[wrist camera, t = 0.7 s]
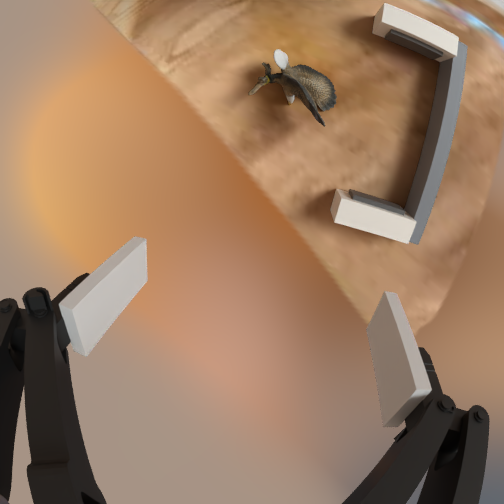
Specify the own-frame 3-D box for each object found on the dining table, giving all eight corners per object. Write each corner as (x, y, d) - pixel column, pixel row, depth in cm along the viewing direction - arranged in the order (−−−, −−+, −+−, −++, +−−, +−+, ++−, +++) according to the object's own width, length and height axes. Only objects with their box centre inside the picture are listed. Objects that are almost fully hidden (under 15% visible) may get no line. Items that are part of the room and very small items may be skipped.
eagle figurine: (251, 114, 32) (320, 141, 31) (244, 75, 25) (329, 103, 24) (277, 75, 33) (341, 98, 32) (275, 36, 26) (350, 60, 25)
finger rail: (374, 15, 24) (384, 2, 20) (453, 51, 24) (471, 44, 19) (330, 209, 37) (334, 222, 32) (408, 233, 36) (420, 247, 32)
